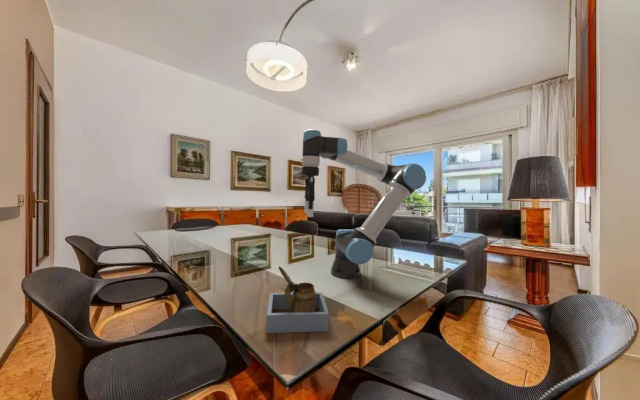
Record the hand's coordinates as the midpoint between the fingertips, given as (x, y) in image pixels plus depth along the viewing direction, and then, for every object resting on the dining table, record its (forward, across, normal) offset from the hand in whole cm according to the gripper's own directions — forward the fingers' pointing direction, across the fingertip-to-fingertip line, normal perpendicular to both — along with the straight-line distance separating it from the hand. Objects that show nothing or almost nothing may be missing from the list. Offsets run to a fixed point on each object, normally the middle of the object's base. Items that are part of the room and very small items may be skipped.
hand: (308, 215), depth 110 cm
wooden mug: (+32, +28, -5) cm, 43 cm away
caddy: (+32, +28, -5) cm, 43 cm away
